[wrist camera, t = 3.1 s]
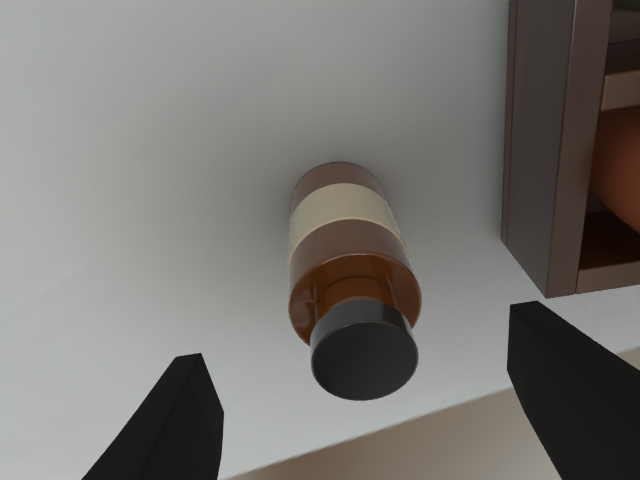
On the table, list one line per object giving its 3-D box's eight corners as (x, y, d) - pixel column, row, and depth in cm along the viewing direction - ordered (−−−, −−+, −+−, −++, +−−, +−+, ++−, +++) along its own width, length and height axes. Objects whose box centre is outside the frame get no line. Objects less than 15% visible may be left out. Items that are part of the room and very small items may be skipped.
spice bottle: (380, 152, 17) (442, 286, 10) (389, 239, 19) (446, 406, 12) (280, 169, 17) (269, 313, 10) (299, 253, 19) (300, 428, 12)
